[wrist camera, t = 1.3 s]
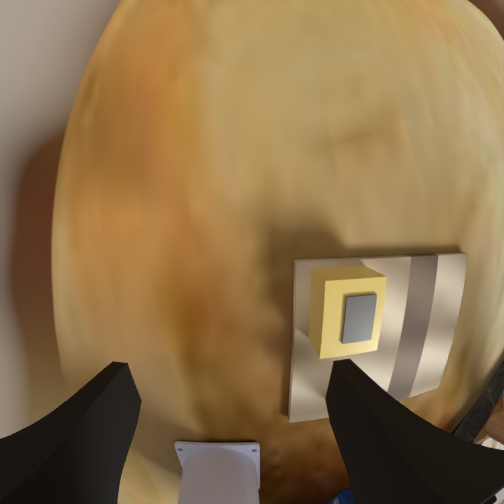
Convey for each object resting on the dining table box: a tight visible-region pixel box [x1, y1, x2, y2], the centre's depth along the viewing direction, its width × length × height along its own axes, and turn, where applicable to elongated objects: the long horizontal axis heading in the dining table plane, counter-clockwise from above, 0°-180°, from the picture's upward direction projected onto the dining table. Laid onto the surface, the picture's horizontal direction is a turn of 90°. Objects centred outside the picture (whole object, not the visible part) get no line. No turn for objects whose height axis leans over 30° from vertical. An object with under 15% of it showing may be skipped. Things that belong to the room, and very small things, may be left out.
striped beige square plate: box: [288, 252, 468, 423], centre depth 20 cm, size 14×16×1 cm
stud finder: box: [308, 266, 387, 359], centre depth 17 cm, size 5×4×3 cm
